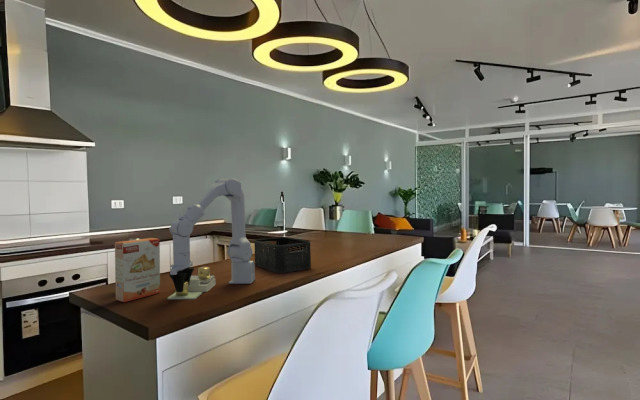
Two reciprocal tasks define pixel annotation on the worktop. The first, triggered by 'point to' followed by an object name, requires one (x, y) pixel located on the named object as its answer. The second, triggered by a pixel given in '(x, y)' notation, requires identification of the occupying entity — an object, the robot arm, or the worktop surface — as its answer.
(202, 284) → the scale
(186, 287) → the cylinder
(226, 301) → the worktop surface
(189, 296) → the rubber mat
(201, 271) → the brass weight
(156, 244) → the cracker box
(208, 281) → the scale pan
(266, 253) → the storage bin
